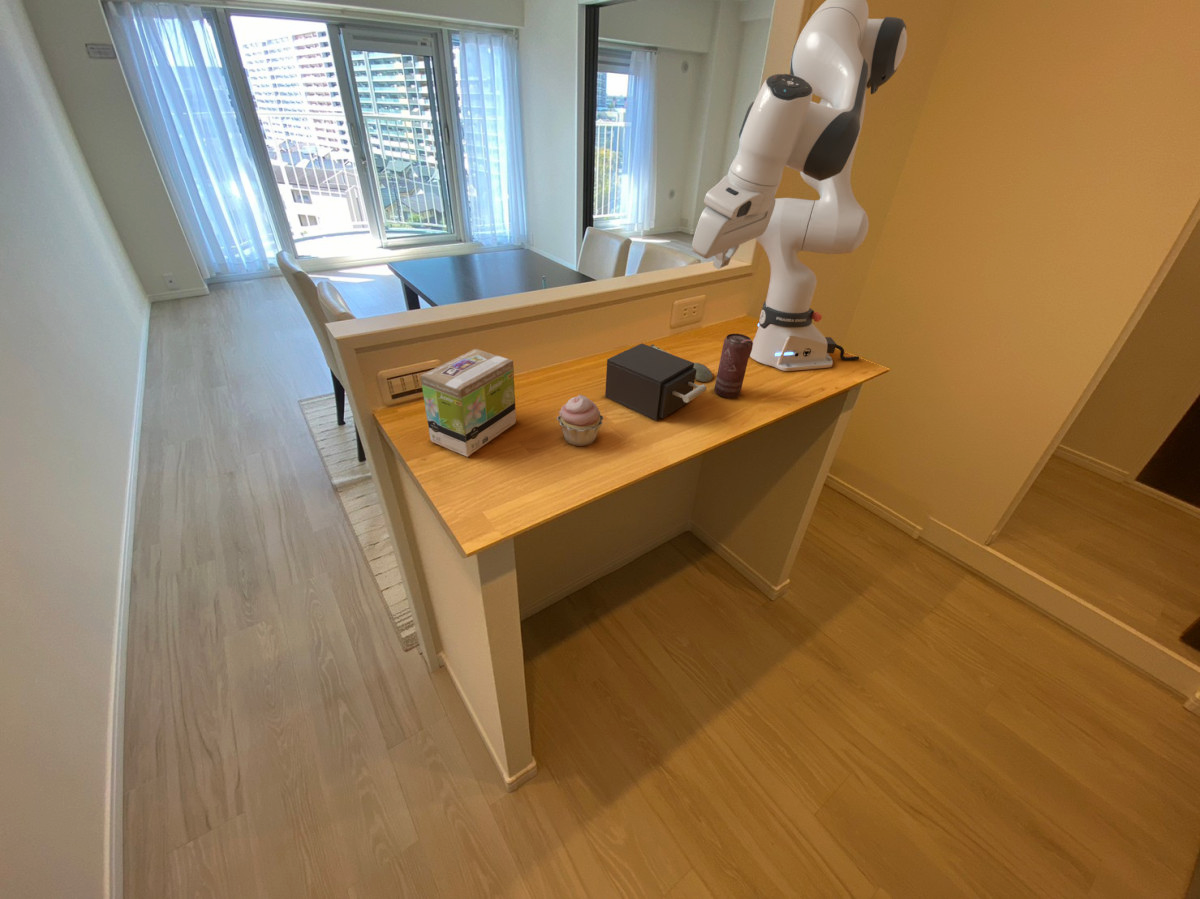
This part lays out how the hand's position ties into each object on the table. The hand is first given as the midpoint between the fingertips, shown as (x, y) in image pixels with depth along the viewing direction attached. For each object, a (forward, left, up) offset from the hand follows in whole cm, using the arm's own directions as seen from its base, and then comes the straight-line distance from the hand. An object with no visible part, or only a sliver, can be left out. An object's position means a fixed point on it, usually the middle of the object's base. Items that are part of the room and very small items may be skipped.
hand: (720, 265), depth 95 cm
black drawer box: (+11, -2, -31) cm, 33 cm away
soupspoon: (0, -20, -31) cm, 37 cm away
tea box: (+48, +12, -31) cm, 59 cm away
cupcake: (+27, +14, -31) cm, 43 cm away
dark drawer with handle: (+8, +1, -30) cm, 31 cm away
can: (-9, -5, -31) cm, 32 cm away
